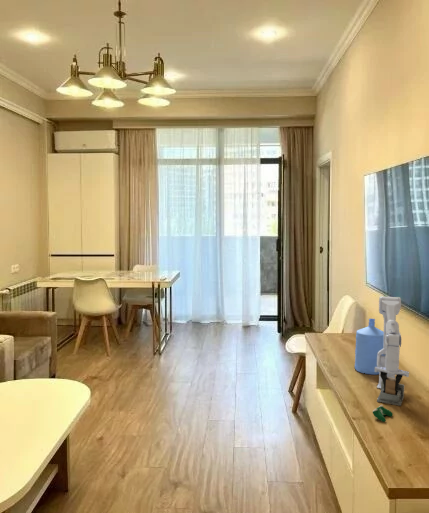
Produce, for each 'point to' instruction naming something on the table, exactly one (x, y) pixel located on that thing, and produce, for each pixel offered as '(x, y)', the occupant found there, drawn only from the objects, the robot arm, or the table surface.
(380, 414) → the gaming controller
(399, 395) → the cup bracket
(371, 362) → the water jug
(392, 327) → the robot arm
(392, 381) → the brown rectangular block
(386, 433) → the table surface
